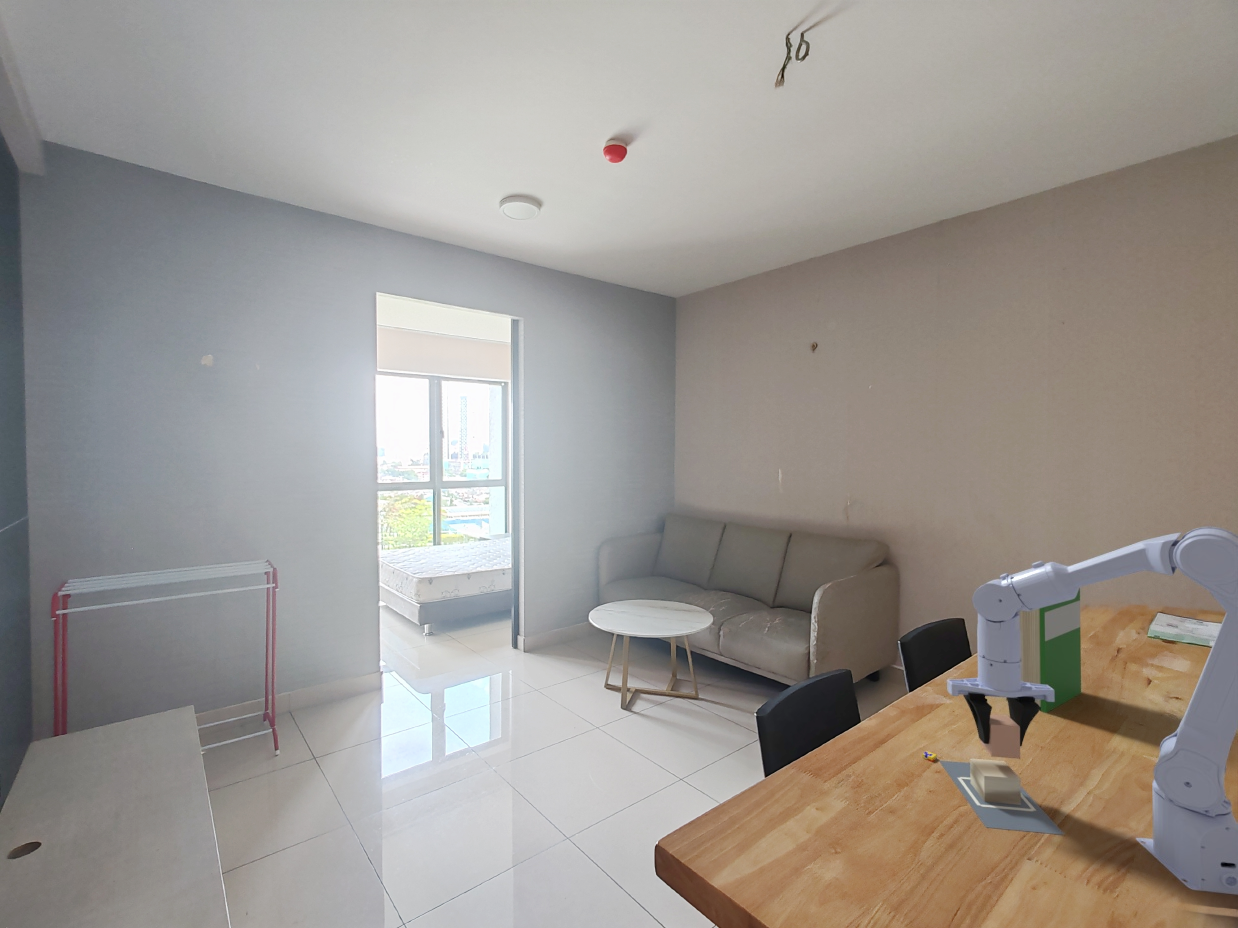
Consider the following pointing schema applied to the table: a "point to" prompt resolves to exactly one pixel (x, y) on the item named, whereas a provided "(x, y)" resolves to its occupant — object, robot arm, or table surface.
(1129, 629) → the table surface
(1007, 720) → the terracotta block
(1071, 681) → the hardback book
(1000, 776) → the birch base block
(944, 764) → the board
